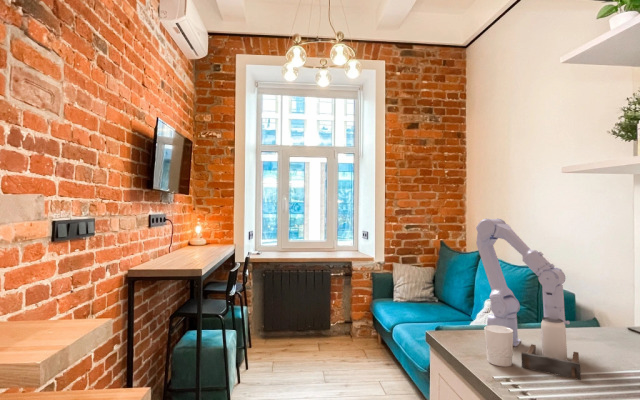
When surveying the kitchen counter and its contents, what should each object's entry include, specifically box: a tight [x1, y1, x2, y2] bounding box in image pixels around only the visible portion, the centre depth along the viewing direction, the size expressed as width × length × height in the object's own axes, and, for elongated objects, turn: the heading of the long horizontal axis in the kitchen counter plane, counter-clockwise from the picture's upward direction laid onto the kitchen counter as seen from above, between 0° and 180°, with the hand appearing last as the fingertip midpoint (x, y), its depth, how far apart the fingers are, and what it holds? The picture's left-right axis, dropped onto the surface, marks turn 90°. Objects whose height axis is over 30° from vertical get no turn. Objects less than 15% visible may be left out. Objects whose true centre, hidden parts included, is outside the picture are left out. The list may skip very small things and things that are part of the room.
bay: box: [521, 343, 582, 381], centre depth 106 cm, size 14×14×4 cm
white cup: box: [483, 325, 514, 368], centre depth 109 cm, size 8×8×10 cm
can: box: [540, 316, 568, 361], centre depth 111 cm, size 6×6×12 cm
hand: (556, 349), depth 115 cm, fingers closed
